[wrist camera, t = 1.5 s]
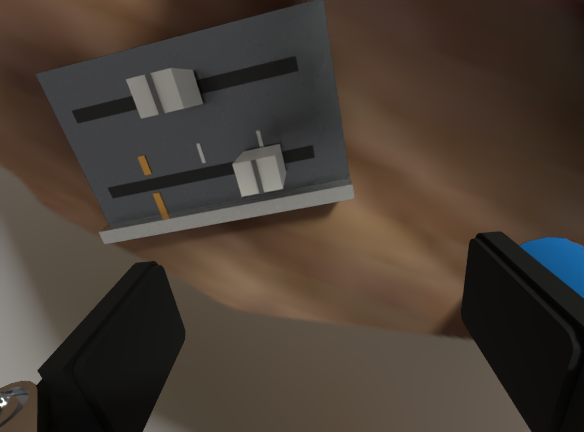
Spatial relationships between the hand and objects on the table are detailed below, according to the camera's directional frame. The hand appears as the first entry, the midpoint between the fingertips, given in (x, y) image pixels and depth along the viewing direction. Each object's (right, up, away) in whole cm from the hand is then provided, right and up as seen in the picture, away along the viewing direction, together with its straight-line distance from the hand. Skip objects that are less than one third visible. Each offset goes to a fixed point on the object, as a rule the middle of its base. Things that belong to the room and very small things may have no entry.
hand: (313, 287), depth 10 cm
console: (-8, +9, +17) cm, 21 cm away
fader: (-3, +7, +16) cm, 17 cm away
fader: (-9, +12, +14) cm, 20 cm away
